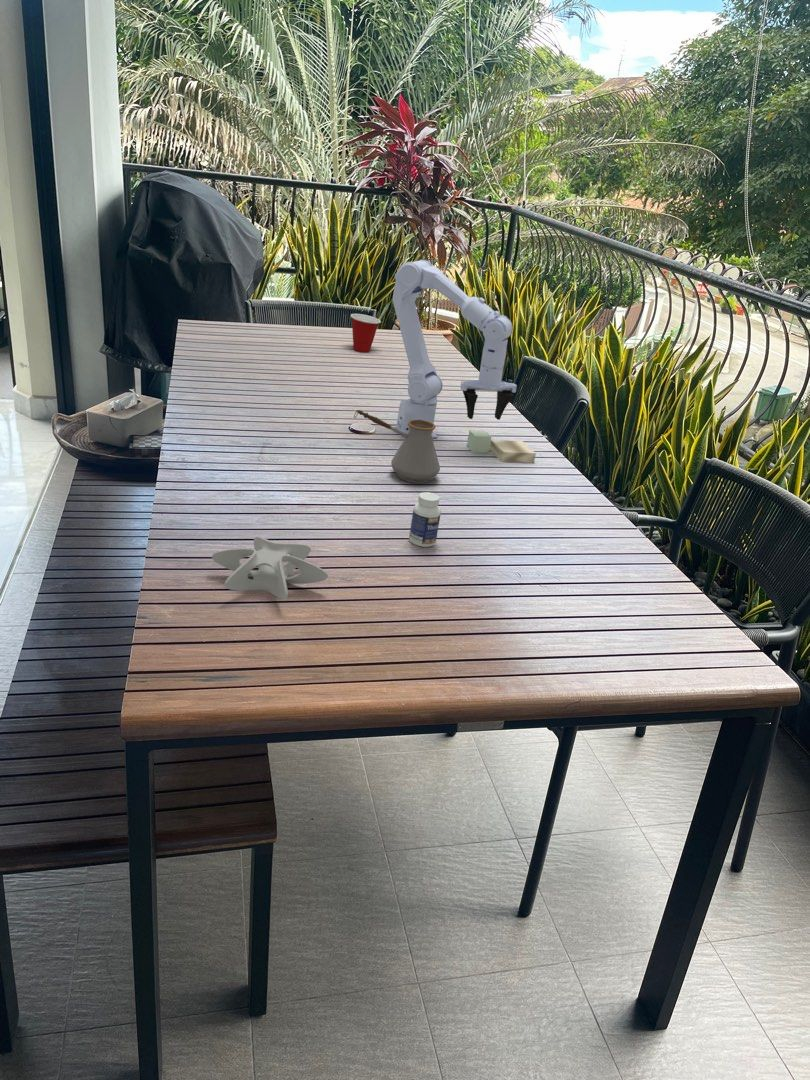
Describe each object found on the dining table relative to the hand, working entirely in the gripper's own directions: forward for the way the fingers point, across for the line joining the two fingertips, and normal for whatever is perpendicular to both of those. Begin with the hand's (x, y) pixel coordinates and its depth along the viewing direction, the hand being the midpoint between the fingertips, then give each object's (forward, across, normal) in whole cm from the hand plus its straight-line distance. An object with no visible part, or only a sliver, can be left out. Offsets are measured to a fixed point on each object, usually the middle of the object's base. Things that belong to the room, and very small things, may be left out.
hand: (483, 418), depth 215 cm
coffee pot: (+9, -29, -18) cm, 35 cm away
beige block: (+9, +8, -4) cm, 13 cm away
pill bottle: (+9, -32, -52) cm, 62 cm away
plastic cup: (+7, -8, +97) cm, 98 cm away
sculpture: (+9, -64, -67) cm, 93 cm away
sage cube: (+9, 0, 0) cm, 9 cm away
